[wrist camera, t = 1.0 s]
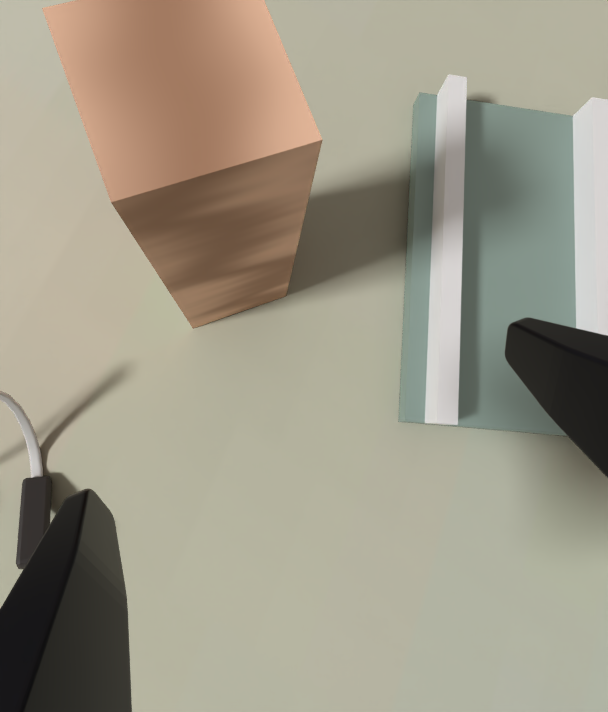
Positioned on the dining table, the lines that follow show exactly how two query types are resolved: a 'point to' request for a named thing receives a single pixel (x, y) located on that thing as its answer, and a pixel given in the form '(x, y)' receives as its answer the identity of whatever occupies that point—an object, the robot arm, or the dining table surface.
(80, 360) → the dining table surface
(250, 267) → the plug block
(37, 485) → the clip-on lamp
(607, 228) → the slot board
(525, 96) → the dining table surface
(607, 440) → the robot arm
